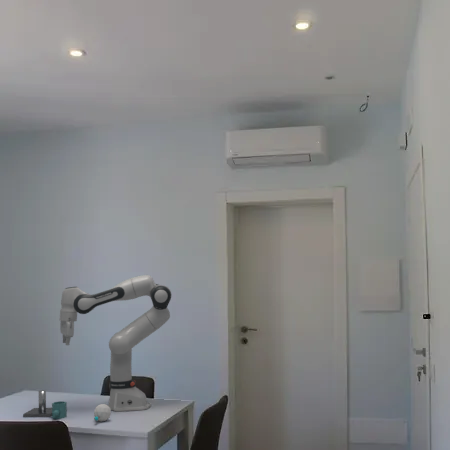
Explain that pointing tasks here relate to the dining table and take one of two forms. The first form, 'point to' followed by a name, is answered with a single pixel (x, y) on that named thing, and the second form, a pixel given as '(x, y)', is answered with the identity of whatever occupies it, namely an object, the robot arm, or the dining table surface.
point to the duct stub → (40, 407)
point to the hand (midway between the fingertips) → (65, 344)
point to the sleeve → (59, 410)
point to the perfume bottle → (102, 412)
